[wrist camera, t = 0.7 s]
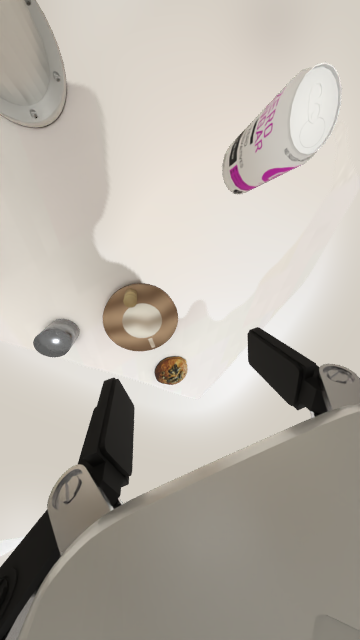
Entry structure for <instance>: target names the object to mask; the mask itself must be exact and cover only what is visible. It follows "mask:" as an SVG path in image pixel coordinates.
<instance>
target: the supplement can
mask: <svg viewBox="0 0 360 640" xmlns="http://www.w3.org/2000/svg"><path fill="white" fill-rule="evenodd" d="M341 92H342V89H341V83H340V77H339V74H338V72H337V71H336V69H335V67H334V66H333V65H330V64H328V63H326V62H325V63H321V64H317V65H315V66H314V67H312V68H308V69H304V70H301V71H300V72H299V73H298V74H297V75H296V76H295V77H294V78H293V79H292V80H291V81H290V82H289V83H288V84H287V85H286V86H285V87H284V88H283V89H282V90H281V91H280V93H279V94H278V95H277V96H276V97H275V98H274V99H273V100H272V101H271V102H270V103H269V104H268V105H267V107H266V108H265V109H264V110H263V111H262V112H261V113H260V114H259V115H258V116H257V117H256V118H255V119H254V121H252V123H251V124H250V125H249V126H248V127H247V128H246V129H245V130H244V131H243V132H242V133H241V134H240V136H239V137H238V138H237V139H236V140H235V141H234V142H233V143H232V144H231V145H230V146H229V148H228V150H227V152H226V154H225V157H224V161H223V178H224V182H225V184H226V186H227V187H228V189H229V190H230V191H231V192H233V193H234V194H242V193H245V192H247V191H250V190H252V189H253V188H256V187H258V186H260V185H262V184H264V183H266V182H268V181H270V180H272V179H274V178H276V177H278V176H280V175H282V174H284V173H286V172H288V171H290V170H292V169H294V168H297V167H298V166H301V165H303V164H304V163H306V162H307V161H308V160H309V159H310V158H311V157H312V156H313V155H314V154H315V153H316V152H317V150H318V149H319V148H321V147H322V146H323V145H324V144H325V142H326V141H327V139H328V138H329V136H330V135H331V133H332V131H333V128H334V126H335V124H336V122H337V118H338V114H339V110H340V106H341Z"/></svg>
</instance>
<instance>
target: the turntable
mask: <svg viewBox="0 0 360 640" xmlns="http://www.w3.org/2000/svg"><path fill="white" fill-rule="evenodd" d="M177 322H178V313H177V309H176V307H175V304H174V303H173V301H172V299H171V298H170V297H169V296H168V294H166V292H164V291H163V290H161V289H160V288H158V287H156V286H153V285H150V284H143V283H138V284H131V285H128V286H125V287H123V288H121V289H119V290H118V291H117V292H115V293H114V294H113V295H112V296H111V298H110V299H109V301H108V303H107V305H106V306H105V309H104V313H103V325H104V328H105V331H106V333H107V335H108V336H109V338H110V339H111V340H112V341H113V342H115V343H116V344H117V345H119V346H121V347H123V348H125V349H128V350H132V351H147V350H152V349H155V348H157V347H159V346H161V345H163V344H164V343H165V342H167V341H168V340H169V339H170V337H171V336H172V335H173V333H174V331H175V329H176V327H177Z"/></svg>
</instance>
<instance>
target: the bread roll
mask: <svg viewBox="0 0 360 640" xmlns="http://www.w3.org/2000/svg"><path fill="white" fill-rule="evenodd" d="M186 373H187V364H186V360H184V359H182V358H181V357H169V358H166V359H164V360H162V361H161V362H160V363H159V364H158V365H157V367H156V370H155V377H156V379H157V381H159V382H160V383H163V384H169V385H173V384H177V383H179V382H180V381H182V380H183V379H184V377H185V376H186Z"/></svg>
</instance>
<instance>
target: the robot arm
mask: <svg viewBox="0 0 360 640" xmlns="http://www.w3.org/2000/svg"><path fill="white" fill-rule="evenodd" d="M58 81H60V82H58ZM65 98H66V75H65V70H64V64H63V60H62V57H61V54H60V50H59V47H58V45H57V42H56V40H55V37H54V34H53V32H52V30H51V28H50V26H49V24H48V21H47V19H46V17H45V15H44V13H43V12H42V10H41V9H40V7H39V5H38V3H37V2H36V0H0V115H2V116H3V117H5V118H7V119H9V120H10V121H12V122H14V123H17V124H20V125H23V126H27V127H34V128H35V127H44V126H46V125H48V124H51V123H52V122H53V121H54V120H56V119H57V118H58V116H59V115H60V113H61V111H62V109H63V106H64V103H65ZM36 117H37V119H35V118H36ZM248 361H249V364H250V365H251V366H252V367H253V368H254V369H255V370H256V371H257V372H258V373H259V374H260V375H261V376H262V377H263V378H264V379H265V380H266V381H267V382H268V383H269V385H270V386H271V387H273V389H274V390H275V391H276V392H277V393H278V394H279V395H280V396H281V397H282V398H283V399H284V400H285V401H286V402H287V403H288V404H289V405H291V406H294V407H295V408H296V409H297V410H299V409H302V408H304V407H306V408H308V409H309V410H310V413H311V419H309V420H306V421H304V422H301V423H299V424H297V425H295V426H292V427H290V428H288V429H286V430H284V431H281V432H279V433H277V434H274V435H272V436H270V437H267V438H265V439H263V440H261V441H259V442H256V443H254V444H252V445H250V446H247V447H245V448H243V449H241V450H238V451H236V452H234V453H232V454H229V455H228V456H225V457H223V458H221V459H218V460H216V461H214V462H212V463H210V464H208V465H205V466H203V467H201V468H198V469H196V470H194V471H192V472H190V473H188V474H185V475H183V476H181V477H179V478H177V479H174V480H172V481H170V482H168V483H166V484H163V485H161V486H159V487H157V488H155V489H153V490H151V491H149V492H147V493H145V494H142V495H140V496H138V497H136V498H134V499H132V500H130V501H128V502H126V503H125V504H123V502H122V501H121V500H120V498H119V496H120V492H121V487H123V486H126V485H128V484H129V476H131V473H132V459H133V431H134V405H133V403H132V401H131V400H130V398H129V396H128V394H127V393H126V391H125V389H124V388H123V386H122V384H121V383H120V381H119V379H115V378H111V379H108V380H106V381H104V383H103V387H102V390H101V394H100V397H99V401H98V405H97V407H96V408H95V409H94V411H93V415H92V418H91V421H90V424H89V428H88V431H87V435H86V438H85V441H84V445H83V448H82V451H81V455H80V459H79V462H78V465H75V466H73V467H71V468H70V469H68V470H67V471H66V472H65V473H64V474H63V475H62V476H61V477H60V478H59V480H58V481H57V482H56V484H55V486H54V487H53V489H52V491H51V494H50V496H49V499H48V504H47V508H48V509H47V510H46V512H45V513H44V514H43V516H42V517H41V518H40V519H39V520H38V522H37V523H36V524H35V525H34V526H33V528H32V529H31V530H30V531H29V533H28V534H27V535H26V536H25V538H24V539H23V540H22V541H21V543H20V544H19V545H18V546H17V547H16V549H15V550H14V551H13V552H12V554H11V555H10V556H9V558H8V559H7V560H6V561H5V562H4V563H3V565H2V566H1V567H0V640H360V378H359V377H358V376H357V375H356V374H355V373H354V372H352V371H351V370H349V369H347V368H345V367H342V366H340V365H335V364H324V365H322V366H320V367H318V366H317V365H316V363H314V362H313V361H311V360H309V359H308V358H306V357H305V356H303V355H302V354H300V353H298V352H297V351H295V350H294V349H292V348H290V347H289V346H287V345H286V344H284V343H282V342H281V341H279V340H278V339H276V338H274V337H273V336H271V335H270V334H268V333H267V332H265V331H264V330H262V329H260V328H258V327H257V328H254V329H251V330H250V331H249V333H248Z"/></svg>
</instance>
